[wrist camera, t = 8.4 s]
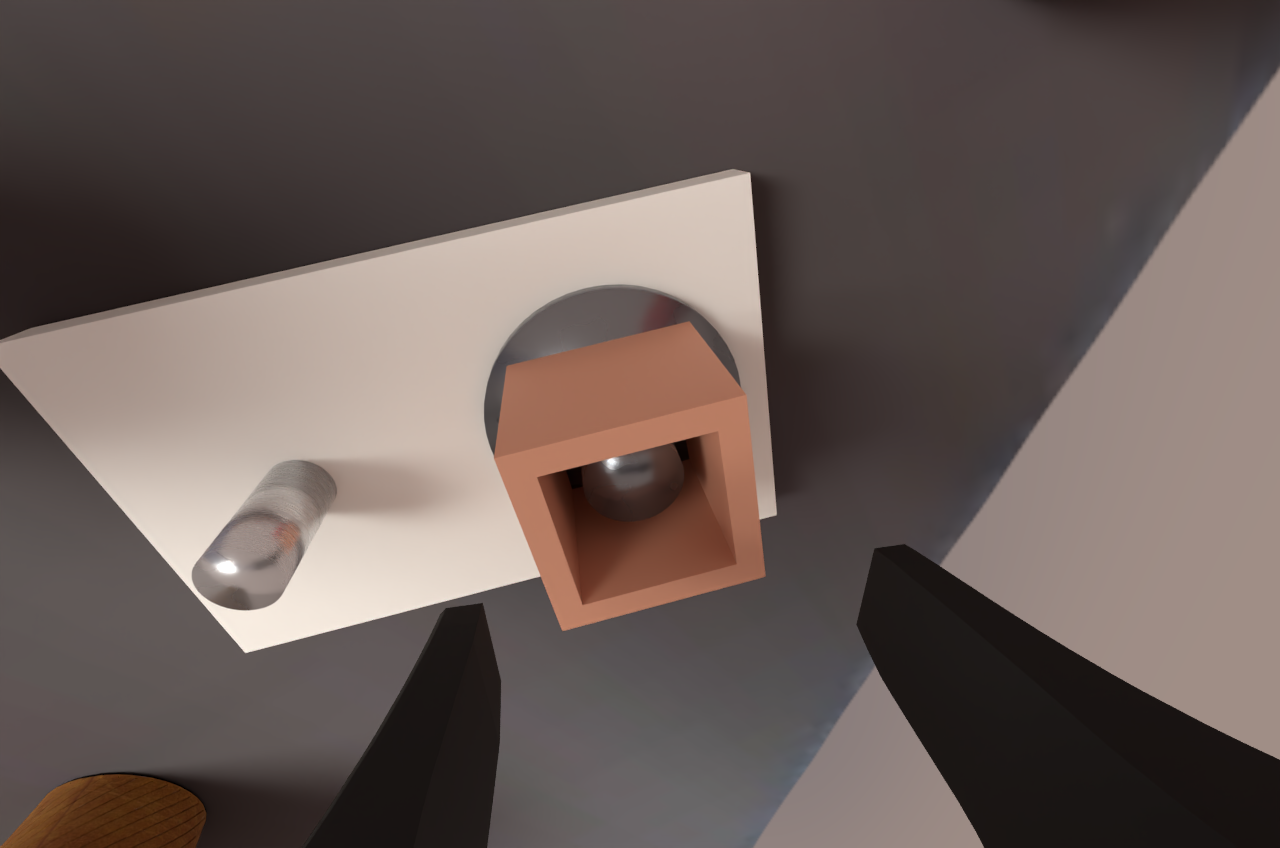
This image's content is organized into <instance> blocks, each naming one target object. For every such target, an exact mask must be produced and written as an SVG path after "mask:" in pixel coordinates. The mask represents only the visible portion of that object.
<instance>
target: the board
mask: <svg viewBox="0 0 1280 848" xmlns="http://www.w3.org/2000/svg"><path fill="white" fill-rule="evenodd" d="M617 284H624V285H634V286H642V287H646V288H651V289H655V290H658V291H661V292H664V293H666V294H669V295H671V296H674V297H676V298H677V299H679V300H681V301H683V302H685V303H686V304H688V305H690V306H691V307H692V308H694V309H695V310H696V311H697V312H699V313H700V314H701V315H702V316H703V317H704V318H705V319H706V320H707V321H708V322H709V323H710V324H711V325H712V326H713V327H714V328H715V329H716V330H717V332H718V333H719V334H720V336H721V337H722V339H723V340H724V341H725V343H726V344H727V346H728V348H729V350H730V352H731V354H732V356H733V358H734V361H735V364H736V367H737V370H738V373H739V378H740V384H741V388H742V390H743V391H744V392H745V394H746V395H747V405H748V414H749V424H750V433H751V443H752V452H753V462H754V471H755V481H756V490H757V500H758V509H759V519H763V518H767V517H771V516H775V515H777V510H776V498H775V485H774V472H773V459H772V446H771V433H770V421H769V408H768V395H767V382H766V369H765V356H764V344H763V331H762V318H761V305H760V292H759V280H758V267H757V254H756V241H755V228H754V215H753V203H752V190H751V177H750V173H749V172H745V171H740V170H735V169H731V170H726V171H722V172H718V173H713V174H709V175H704V176H700V177H695V178H691V179H687V180H682V181H678V182H673V183H669V184H665V185H660V186H656V187H651V188H647V189H642V190H638V191H634V192H629V193H625V194H620V195H616V196H612V197H607V198H603V199H598V200H594V201H589V202H585V203H581V204H576V205H572V206H567V207H563V208H559V209H554V210H550V211H545V212H541V213H537V214H532V215H528V216H523V217H519V218H514V219H510V220H506V221H501V222H497V223H492V224H488V225H484V226H479V227H475V228H470V229H466V230H461V231H457V232H453V233H448V234H444V235H439V236H435V237H431V238H426V239H422V240H417V241H413V242H408V243H404V244H400V245H395V246H391V247H386V248H382V249H378V250H373V251H369V252H364V253H360V254H355V255H351V256H347V257H342V258H338V259H333V260H329V261H325V262H320V263H316V264H311V265H307V266H302V267H298V268H294V269H289V270H285V271H280V272H276V273H272V274H267V275H263V276H258V277H254V278H249V279H245V280H241V281H236V282H232V283H227V284H223V285H219V286H214V287H210V288H205V289H201V290H197V291H192V292H188V293H183V294H179V295H174V296H170V297H166V298H161V299H157V300H152V301H148V302H144V303H139V304H135V305H130V306H126V307H121V308H117V309H113V310H108V311H104V312H99V313H95V314H91V315H86V316H82V317H77V318H73V319H68V320H64V321H60V322H55V323H51V324H46V325H42V326H38V327H33V328H30V329H27V330H25V331H22V332H20V333H17V334H14V335H12V336H9V337H7V338H4V339H2V340H0V368H1V370H2V371H3V372H4V373H5V374H6V375H7V377H8V378H9V379H10V380H11V381H12V382H13V384H14V385H15V386H16V387H17V388H18V389H19V391H20V392H21V393H22V394H23V395H24V396H25V398H26V399H27V400H28V401H29V402H30V403H31V404H32V406H33V407H34V408H35V409H36V410H37V411H38V413H39V414H40V415H41V416H42V417H43V418H44V420H45V421H46V422H47V423H48V424H49V425H50V427H51V428H52V429H53V430H54V431H55V432H56V434H57V435H58V436H59V437H60V438H61V439H62V441H63V442H64V443H65V444H66V445H67V446H68V447H69V449H70V450H71V451H72V452H73V453H74V454H75V456H76V457H77V458H78V459H79V460H80V461H81V463H82V464H83V465H84V466H85V467H86V468H87V470H88V471H89V472H90V473H91V474H92V475H93V477H94V478H95V479H96V480H97V481H98V482H99V483H100V485H101V486H102V487H103V488H104V489H105V490H106V492H107V493H108V494H109V495H110V496H111V497H112V499H113V500H114V501H115V502H116V503H117V504H118V506H119V507H120V508H121V509H122V510H123V511H124V513H125V514H126V515H127V516H128V517H129V518H130V519H131V521H132V522H133V523H134V524H135V525H136V526H137V528H138V529H139V530H140V531H141V532H142V533H143V535H144V536H145V537H146V538H147V539H148V540H149V542H150V543H151V544H152V545H153V546H154V547H155V549H156V550H157V551H158V552H159V553H160V554H161V556H162V557H163V558H164V559H165V560H166V561H167V562H168V564H169V565H170V566H171V567H172V568H173V569H174V571H175V572H176V573H177V574H178V575H179V576H180V578H181V579H182V580H183V581H184V582H185V583H186V585H187V586H188V587H189V588H190V589H191V590H192V592H193V593H194V594H195V595H196V596H197V597H198V598H199V600H200V601H201V602H202V603H203V604H204V605H205V607H206V608H207V609H208V610H209V611H210V612H211V614H212V615H213V616H214V617H215V618H216V619H217V621H218V622H219V623H220V624H221V625H222V626H223V628H224V629H225V630H226V631H227V632H228V633H229V634H230V636H231V637H232V638H233V639H234V640H235V641H236V643H237V644H238V645H239V646H240V647H241V648H242V650H243V651H244V652H245V653H247V652H251V651H255V650H259V649H263V648H266V647H270V646H274V645H278V644H282V643H286V642H290V641H293V640H297V639H301V638H305V637H309V636H313V635H317V634H320V633H324V632H328V631H332V630H336V629H340V628H344V627H347V626H351V625H355V624H359V623H363V622H367V621H370V620H374V619H378V618H382V617H386V616H390V615H394V614H397V613H401V612H405V611H409V610H413V609H417V608H421V607H424V606H428V605H432V604H436V603H440V602H444V601H448V600H451V599H455V598H459V597H463V596H467V595H471V594H475V593H478V592H482V591H486V590H490V589H494V588H498V587H501V586H505V585H509V584H513V583H517V582H521V581H525V580H528V579H532V578H536V577H540V573H539V571H538V568H537V566H536V563H535V561H534V558H533V556H532V553H531V551H530V548H529V546H528V543H527V541H526V538H525V536H524V533H523V531H522V528H521V525H520V523H519V520H518V518H517V515H516V513H515V510H514V508H513V505H512V503H511V500H510V498H509V495H508V493H507V490H506V488H505V485H504V483H503V480H502V478H501V475H500V473H499V470H498V468H497V465H496V463H495V460H494V455H493V453H492V450H491V448H490V445H489V442H488V438H487V435H486V429H485V423H484V400H485V394H486V387H487V382H488V378H489V375H490V372H491V369H492V366H493V363H494V361H495V359H496V357H497V355H498V353H499V351H500V349H501V348H502V346H503V345H504V343H505V342H506V340H507V339H508V337H509V336H510V335H511V334H512V333H513V331H514V330H515V329H516V328H517V327H518V326H519V325H520V324H521V323H522V322H523V321H524V320H525V319H526V318H528V317H529V316H530V315H531V314H532V313H534V312H535V311H536V310H538V309H539V308H541V307H542V306H544V305H546V304H547V303H549V302H550V301H552V300H555V299H557V298H559V297H561V296H563V295H566V294H568V293H571V292H574V291H577V290H581V289H584V288H589V287H595V286H601V285H617ZM288 460H302V461H307V462H311V463H314V464H316V465H318V466H320V467H322V468H323V469H324V470H326V471H327V472H328V473H329V474H330V475H331V476H332V478H333V479H334V481H335V483H336V487H337V495H336V498H335V500H334V502H333V504H332V506H331V507H330V509H329V511H328V513H327V515H326V516H325V518H324V520H323V522H322V524H321V525H320V527H319V529H318V531H317V533H316V535H315V536H314V538H313V540H312V542H311V544H310V545H309V547H308V549H307V551H306V553H305V554H304V556H303V558H302V560H301V562H300V564H299V565H298V567H297V569H296V571H295V573H294V574H293V576H292V578H291V580H290V582H289V583H288V585H287V587H286V589H285V591H284V593H283V594H282V596H281V597H280V598H279V599H278V600H277V601H276V602H275V603H273V604H272V605H270V606H267V607H265V608H262V609H257V610H234V609H229V608H225V607H222V606H219V605H217V604H214V603H213V602H211V601H209V600H207V599H206V598H205V597H203V596H202V595H201V594H200V593H199V592H198V591H197V589H196V588H195V586H194V584H193V581H192V576H191V575H192V569H193V567H194V565H195V563H196V562H197V561H198V560H199V558H200V557H201V556H202V555H203V553H204V552H205V551H206V550H207V548H208V547H209V546H210V545H211V543H212V542H213V541H214V539H215V538H216V537H217V536H218V534H219V533H220V532H221V531H222V529H223V528H224V527H225V526H226V524H227V523H228V522H229V521H230V519H231V518H232V517H233V515H234V514H235V513H236V512H237V510H238V509H239V508H240V507H241V505H242V504H243V503H244V502H245V500H246V499H247V498H248V496H249V495H250V494H251V493H252V491H253V490H254V489H255V488H256V486H257V485H258V484H259V483H260V481H261V480H262V479H263V478H264V476H265V475H266V474H267V472H268V471H269V470H270V469H271V468H272V467H273V466H275V465H276V464H278V463H280V462H284V461H288Z"/></svg>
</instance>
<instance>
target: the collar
mask: <svg viewBox="0 0 1280 848" xmlns="http://www.w3.org/2000/svg"><path fill="white" fill-rule="evenodd" d="M685 439H686V443H687V448H688V454H689V459H688V460H684V461H682V464H683V468H684V482H683V486H682V489H681V491H680V493H679V495H678V496H677V498H676V499H675V501H674V502H673V503H672V504H671V505H670V506H669V507H668V508H667V509H665V510H664V511H662V512H661V513H659V514H657V515H655V516H653V517H651V518H648V519H645V520H641V521H634V522H623V521H617V520H612V519H610V518H607V517H605V516H603V515H601V514H600V513H598V512H597V511H596V510H595V509H594V508H593V507H592V506H591V505H590V504H589V502H588V500H587V499H586V496H585V493H584V489H583V487H579V488H575V489H572V487H571V484H570V481H569V478H568V475H567V472H566V470H567V469H571V468H575V467H579V466H583V465H587V464H591V463H595V462H599V461H603V460H606V459H610V458H614V457H618V456H622V455H626V454H630V453H634V452H638V451H642V450H646V449H650V448H654V447H658V446H662V445H665V444H669V443H673V442H677V441H681V440H685ZM494 460H495V463H496V465H497V468H498V470H499V473H500V475H501V478H502V480H503V483H504V485H505V488H506V490H507V493H508V495H509V498H510V500H511V503H512V505H513V508H514V510H515V513H516V515H517V518H518V520H519V523H520V525H521V528H522V531H523V533H524V536H525V538H526V541H527V543H528V546H529V548H530V551H531V553H532V556H533V558H534V561H535V563H536V566H537V568H538V571H539V573H540V576H541V578H542V581H543V583H544V586H545V588H546V591H547V593H548V596H549V598H550V601H551V603H552V606H553V608H554V611H555V613H556V616H557V619H558V621H559V624H560V626H561V629H562V631H565V630H569V629H572V628H576V627H580V626H583V625H587V624H591V623H595V622H598V621H602V620H606V619H610V618H613V617H617V616H621V615H624V614H628V613H632V612H636V611H639V610H643V609H647V608H651V607H654V606H658V605H662V604H665V603H669V602H673V601H677V600H680V599H684V598H688V597H692V596H695V595H699V594H703V593H706V592H710V591H714V590H718V589H721V588H725V587H729V586H733V585H736V584H740V583H744V582H747V581H751V580H755V579H759V578H762V577H766V576H765V567H764V557H763V547H762V538H761V528H760V519H759V509H758V500H757V490H756V481H755V471H754V462H753V452H752V443H751V433H750V424H749V414H748V405H747V395H746V394H745V392H744V391H743V390H742V388H741V387H740V386H739V385H738V383H737V382H736V381H735V379H734V378H733V377H732V376H731V374H730V373H729V372H728V370H727V369H726V368H725V367H724V365H723V364H722V363H721V361H720V360H719V359H718V357H717V356H716V355H715V354H714V352H713V351H712V350H711V348H710V347H709V346H708V345H707V343H706V342H705V341H704V339H703V338H702V337H701V336H700V334H699V333H698V332H697V330H696V329H695V328H694V327H693V325H692V324H691V323H690V321H688V322H684V323H680V324H676V325H672V326H668V327H664V328H660V329H655V330H651V331H647V332H643V333H639V334H635V335H631V336H627V337H623V338H619V339H614V340H610V341H606V342H602V343H598V344H594V345H590V346H586V347H582V348H578V349H573V350H569V351H565V352H561V353H557V354H553V355H549V356H545V357H541V358H537V359H532V360H528V361H524V362H520V363H516V364H512V365H508V366H507V367H506V375H505V382H504V389H503V396H502V403H501V411H500V418H499V425H498V432H497V439H496V447H495V454H494Z"/></svg>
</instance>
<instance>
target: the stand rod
mask: <svg viewBox="0 0 1280 848" xmlns="http://www.w3.org/2000/svg"><path fill="white" fill-rule="evenodd" d="M336 495H337V487H336V483H335V481H334V479H333V478H332V476H331V475H330V474H329V473H328V472H327V471H326V470H324V469H323V468H322V467H320V466H318V465H316V464H314V463H311V462H307V461H302V460H288V461H284V462H280V463H278V464H276V465H275V466H273V467H272V468H271V469H270V470H269V471H268V472H267V474H266V475H265V476H264V478H263V479H262V480H261V481H260V483H259V484H258V485H257V486H256V488H255V489H254V490H253V491H252V493H251V494H250V495H249V496H248V498H247V499H246V500H245V502H244V503H243V504H242V505H241V507H240V508H239V509H238V510H237V512H236V513H235V514H234V515H233V517H232V518H231V519H230V521H229V522H228V523H227V524H226V526H225V527H224V528H223V529H222V531H221V532H220V533H219V534H218V536H217V537H216V538H215V539H214V541H213V542H212V543H211V545H210V546H209V547H208V548H207V550H206V551H205V552H204V553H203V555H202V556H201V557H200V558H199V560H198V561H197V562H196V563H195V565H194V567H193V569H192V575H191V576H192V581H193V584H194V586H195V588H196V589H197V591H198V592H199V593H200V594H201V595H202V596H203V597H205V598H206V599H207V600H209V601H211V602H213V603H214V604H217V605H219V606H222V607H225V608H229V609H234V610H257V609H262V608H265V607H267V606H270V605H272V604H273V603H275V602H276V601H277V600H278V599H279V598H280V597H281V596H282V594H283V593H284V591H285V589H286V587H287V585H288V583H289V582H290V580H291V578H292V576H293V574H294V573H295V571H296V569H297V567H298V565H299V564H300V562H301V560H302V558H303V556H304V554H305V553H306V551H307V549H308V547H309V545H310V544H311V542H312V540H313V538H314V536H315V535H316V533H317V531H318V529H319V527H320V525H321V524H322V522H323V520H324V518H325V516H326V515H327V513H328V511H329V509H330V507H331V506H332V504H333V502H334V500H335V498H336Z"/></svg>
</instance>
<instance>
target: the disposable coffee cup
mask: <svg viewBox="0 0 1280 848" xmlns="http://www.w3.org/2000/svg"><path fill="white" fill-rule="evenodd" d="M205 822H206V811H205V808H204V806H203V804H202V803H201V801H200V800H199V799H198V798H197V797H196V796H194V795H193V794H192V793H191V792H189V791H187V790H185V789H184V788H182V787H180V786H177V785H175V784H172V783H169V782H167V781H163V780H159V779H155V778H151V777H145V776H136V775H121V774H114V775H98V776H93V777H87V778H81V779H77V780H74V781H70V782H68V783H65V784H63V785H61V786H59V787H57V788H55V789H54V790H52V791H51V792H50V793H48V794H47V795H46V796H45V798H44V799H43V800H42V801H41V802H40V803H39V805H38V806H37V807H36V808H35V809H34V810H33V812H32V813H31V814H30V815H29V816H28V817H27V818H26V819H25V821H24V822H23V823H22V824H21V825H20V826H19V827H18V828H17V829H16V830H15V832H14V833H13V834H12V835H11V836H10V837H9V838H8V840H7V841H6V842H5V843H4V844H3V845H2V846H1V847H0V848H196V845H197V842H198V840H199V837H200V834H201V832H202V829H203V826H204V824H205Z"/></svg>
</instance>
